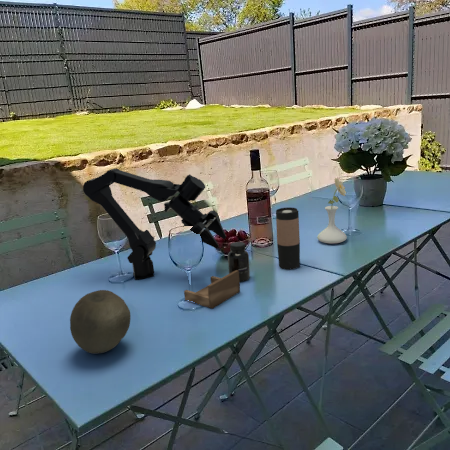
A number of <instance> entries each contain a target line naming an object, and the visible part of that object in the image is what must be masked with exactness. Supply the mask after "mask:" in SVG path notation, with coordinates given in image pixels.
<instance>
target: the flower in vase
mask: <svg viewBox="0 0 450 450" xmlns="http://www.w3.org/2000/svg"><path fill="white" fill-rule="evenodd" d="M333 182H334V185H335V187H336V189H335V191H334V193H333V197H332V200H331V199H329V200H328V203H327V204H330V205H328V206H325V207H324V209H325V210H326V212H327V215H328V223H327V227H326V228H324V229H323V230H322V231H321V232H320V231H319V233H318V235H317V237H316V239H317V240H318V241H319V242H321V243H325V244H339V243H342V242H344V241H345V242H346V240H347V238H348V235H346V233H345V232H343V230H341V229H340V228H338V227H337V226H336V223H335V219H336V218H335V217H336V212H337V210H338V209H339V207H338V206H337V205H336V206H335V205H334V203H338V202H339V200H340V199H339V198H338V196H337V195H336V192H337V191H338V193H339V194H340V195H341V196H343V197H346V194H347V192H346V190H345V189H346V187H345V186H344V184H343V182H342V180H340V178H338V177H334V181H333ZM335 195H336V196H335Z"/></svg>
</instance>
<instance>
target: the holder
mask: <svg viewBox="0 0 450 450" xmlns="http://www.w3.org/2000/svg"><path fill="white" fill-rule="evenodd" d="M240 284H241V282H239V271H238V270H235V271H233V272H232V273H230V274H229V273H228V274H226V275H225V276H223V277H218V276H214V275H212V276H210V284H208V285H207V286H204V287H202V289H199V290H198V291H192V290H188V289H185V290H184V291H183V293H184V301H186V300H189V301H193V302H195V303H194V304H196V303H197V304H196V305H199V304H200V305H199V306H202V307H205V308H208V309H211V310H213V309H215V308H216V307H218V306H220V305H221V304H223V303H225V302H226V301H227V300H229V299H231V298H233V297H235V296H236V295H237V294H240V293H241V285H240ZM189 301H188V302H189Z"/></svg>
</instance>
